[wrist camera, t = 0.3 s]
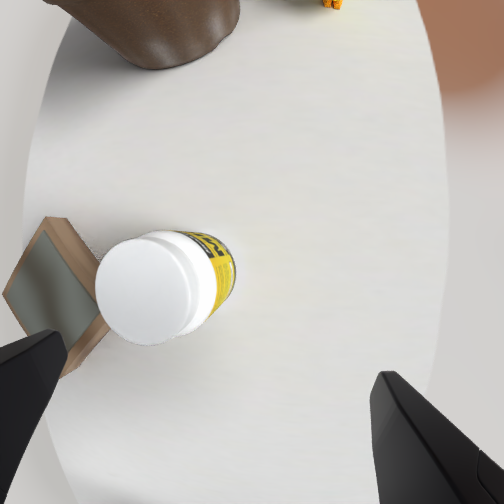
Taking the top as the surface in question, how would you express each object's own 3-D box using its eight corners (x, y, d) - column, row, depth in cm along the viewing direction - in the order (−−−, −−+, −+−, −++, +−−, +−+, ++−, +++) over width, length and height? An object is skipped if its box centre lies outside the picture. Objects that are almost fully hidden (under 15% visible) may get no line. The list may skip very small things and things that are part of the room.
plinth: (77, 367, 24) (57, 380, 21) (21, 290, 25) (0, 294, 21) (132, 303, 23) (113, 312, 20) (66, 218, 24) (43, 216, 20)
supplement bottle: (244, 241, 22) (215, 244, 12) (228, 317, 23) (191, 373, 12) (170, 225, 23) (95, 217, 13) (157, 298, 23) (81, 334, 13)
